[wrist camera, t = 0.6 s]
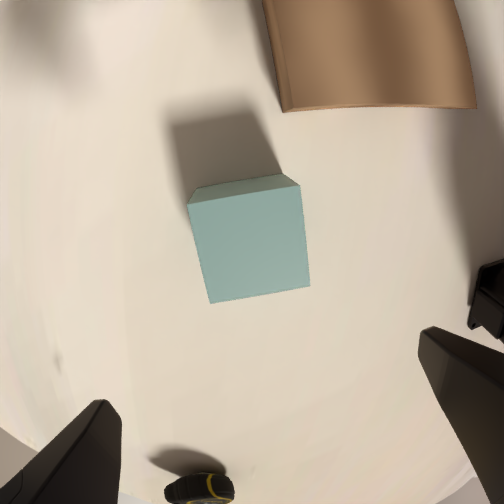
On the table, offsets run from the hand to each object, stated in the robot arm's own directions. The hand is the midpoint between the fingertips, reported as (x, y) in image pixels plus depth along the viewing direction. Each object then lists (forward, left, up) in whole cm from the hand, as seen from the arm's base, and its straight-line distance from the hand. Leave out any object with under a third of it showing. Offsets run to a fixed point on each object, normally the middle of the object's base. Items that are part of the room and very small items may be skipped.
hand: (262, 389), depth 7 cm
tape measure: (+13, +27, -12) cm, 32 cm away
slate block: (0, -1, -12) cm, 12 cm away
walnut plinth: (-9, -14, -12) cm, 21 cm away
